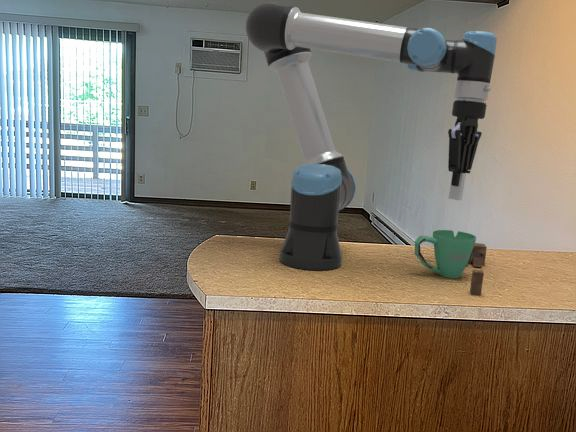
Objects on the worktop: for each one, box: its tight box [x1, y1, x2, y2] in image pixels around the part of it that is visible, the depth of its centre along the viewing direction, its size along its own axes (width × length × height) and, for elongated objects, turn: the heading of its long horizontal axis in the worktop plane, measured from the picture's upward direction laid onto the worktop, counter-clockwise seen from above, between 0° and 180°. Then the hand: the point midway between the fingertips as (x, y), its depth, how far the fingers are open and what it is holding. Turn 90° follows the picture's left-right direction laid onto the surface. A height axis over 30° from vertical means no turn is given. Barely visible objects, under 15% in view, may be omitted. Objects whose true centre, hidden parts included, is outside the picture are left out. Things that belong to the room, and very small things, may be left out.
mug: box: [414, 229, 477, 279], centre depth 133 cm, size 15×10×10 cm
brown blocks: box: [465, 242, 487, 297], centre depth 134 cm, size 7×32×5 cm, turn 169°
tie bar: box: [471, 253, 483, 268], centre depth 155 cm, size 2×26×2 cm, turn 169°
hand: (455, 199), depth 137 cm, fingers closed
